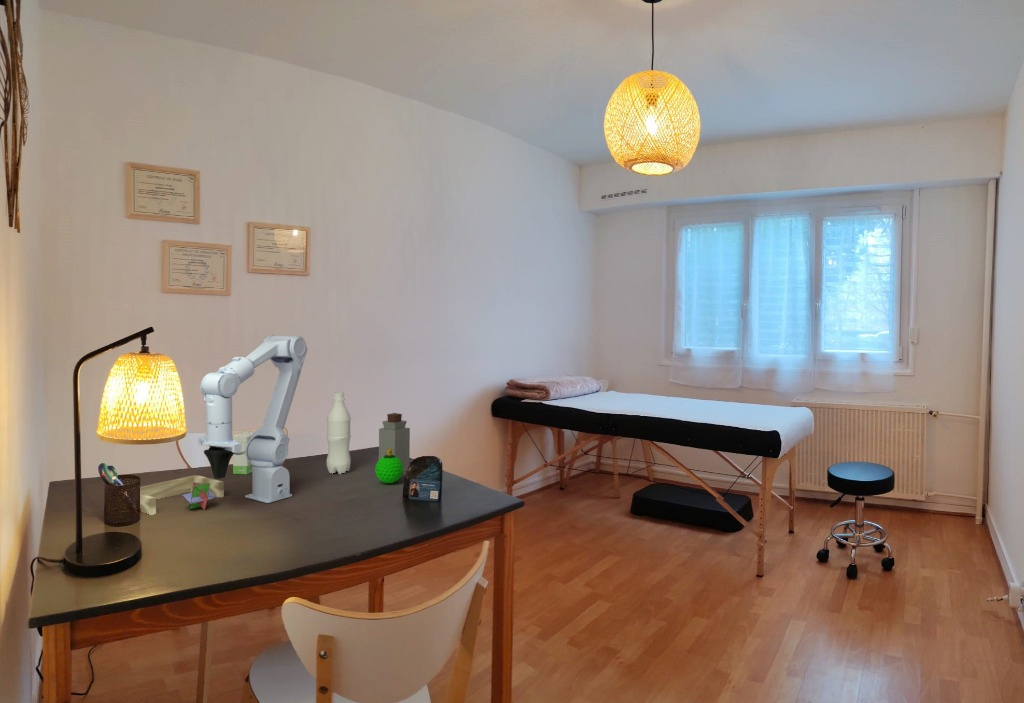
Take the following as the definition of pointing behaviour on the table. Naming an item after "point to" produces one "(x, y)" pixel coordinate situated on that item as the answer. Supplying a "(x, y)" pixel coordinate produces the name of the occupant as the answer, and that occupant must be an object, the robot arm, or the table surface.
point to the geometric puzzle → (199, 495)
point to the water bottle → (338, 436)
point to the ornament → (389, 468)
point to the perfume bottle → (395, 438)
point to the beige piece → (174, 490)
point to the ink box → (242, 454)
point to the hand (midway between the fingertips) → (219, 477)
